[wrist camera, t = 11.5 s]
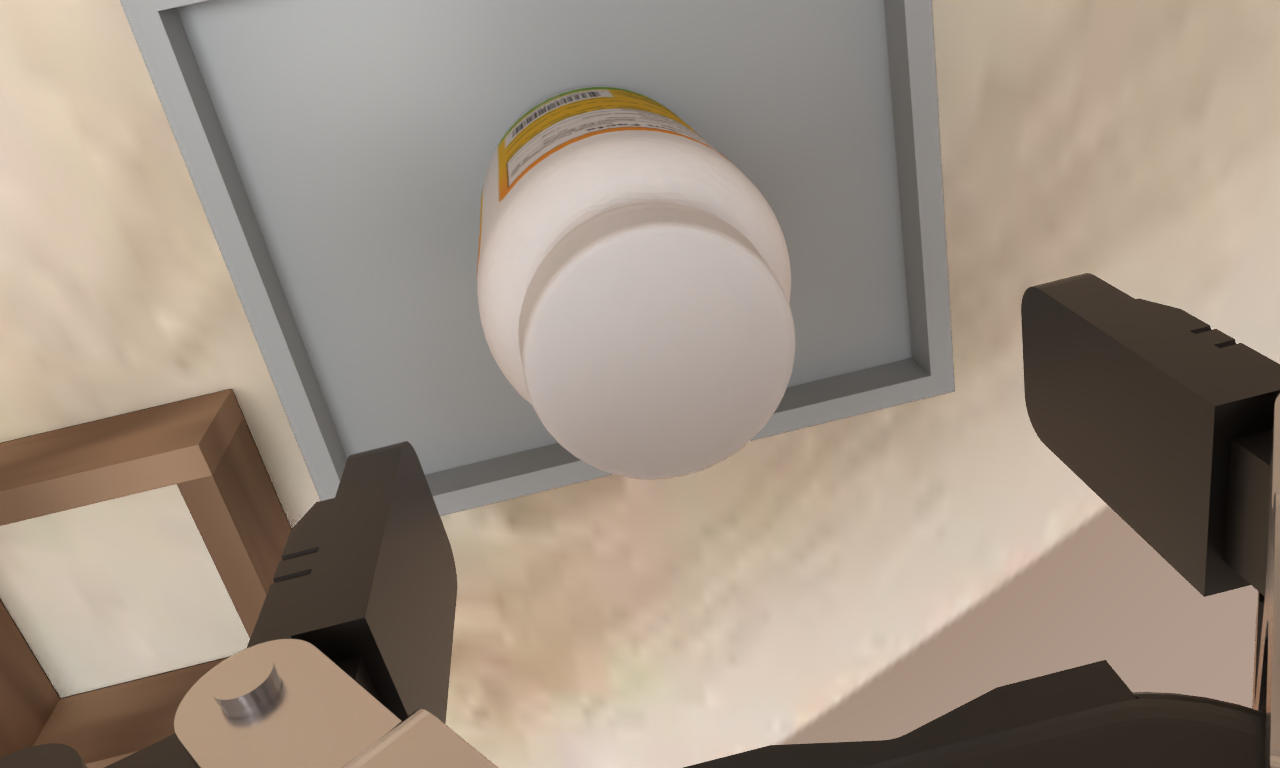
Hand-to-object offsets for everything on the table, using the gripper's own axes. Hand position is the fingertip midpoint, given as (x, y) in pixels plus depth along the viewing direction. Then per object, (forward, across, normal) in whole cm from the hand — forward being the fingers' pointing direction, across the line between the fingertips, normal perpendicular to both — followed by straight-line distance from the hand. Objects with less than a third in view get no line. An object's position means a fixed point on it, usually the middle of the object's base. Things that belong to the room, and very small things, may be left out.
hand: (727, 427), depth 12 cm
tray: (+12, +1, 0) cm, 12 cm away
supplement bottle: (+12, +1, 0) cm, 12 cm away
